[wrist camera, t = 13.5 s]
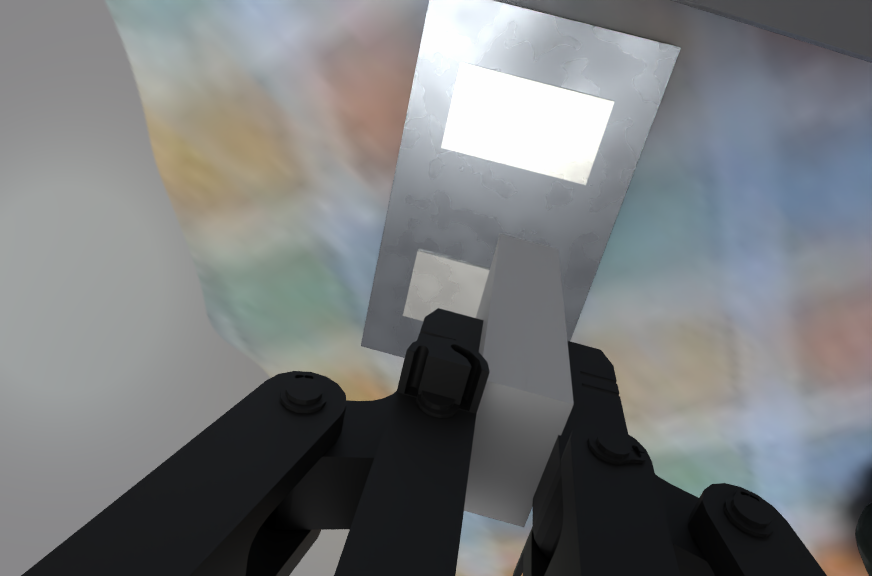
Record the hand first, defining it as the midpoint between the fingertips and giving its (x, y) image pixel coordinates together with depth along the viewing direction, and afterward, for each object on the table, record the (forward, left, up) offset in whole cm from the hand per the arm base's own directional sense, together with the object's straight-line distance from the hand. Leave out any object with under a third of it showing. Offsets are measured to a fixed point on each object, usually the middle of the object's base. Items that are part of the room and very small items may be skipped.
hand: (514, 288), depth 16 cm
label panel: (0, +3, -24) cm, 25 cm away
